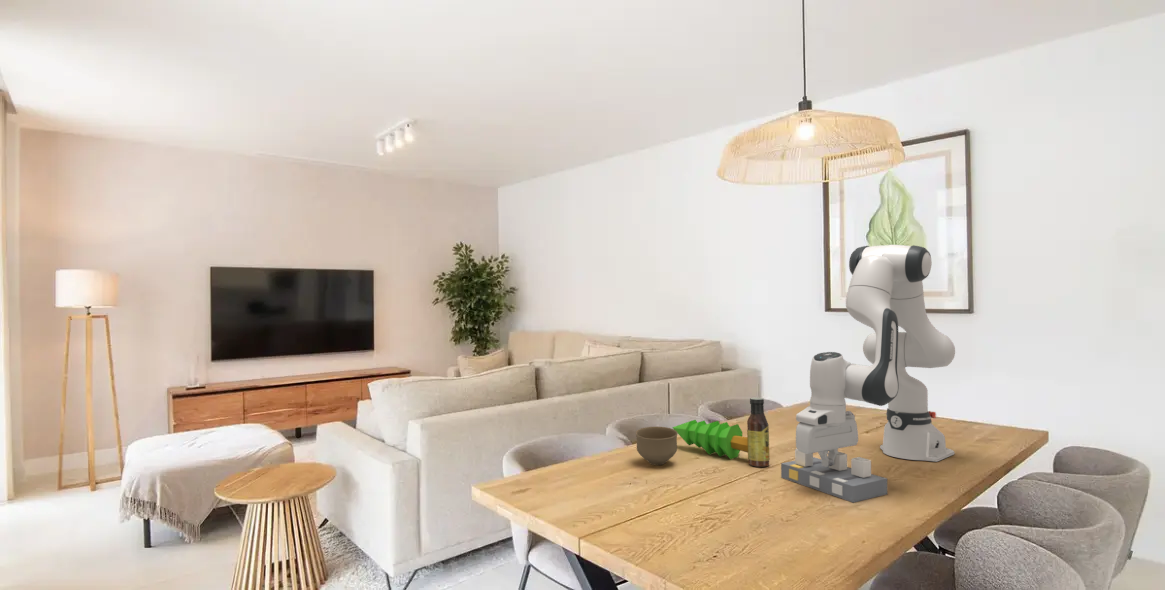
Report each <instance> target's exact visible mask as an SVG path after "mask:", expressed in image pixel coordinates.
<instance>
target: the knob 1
mask: <svg viewBox="0 0 1165 590" xmlns="http://www.w3.org/2000/svg"><path fill="white" fill-rule="evenodd" d="M813 457H814V453H811V454H806V453H802V452H799V451H798V449H797V448H795V449H794V461H795V464H798V465H801V466H805V467H807V466H812V465H813Z"/></svg>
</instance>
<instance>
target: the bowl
mask: <svg viewBox="0 0 1165 590" xmlns="http://www.w3.org/2000/svg"><path fill="white" fill-rule="evenodd" d="M678 435H679V434H678V433H677V431H676V430H674V429H673V428H670V427H667V426H666V427H665V426H646V427H642V428H639V429H637V430H636V431H635V437H636V450H637V452H638V455H640V456H641V458H642V459H644V460H646V461H647V462H648V463H649V464H650V465H652V466H662V465H665V464H666V463H667V462H668V461H669V460H671V459H672V458H673V457H674V456H675V454H676V453H677V451H678Z"/></svg>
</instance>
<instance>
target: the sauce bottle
mask: <svg viewBox="0 0 1165 590" xmlns="http://www.w3.org/2000/svg"><path fill="white" fill-rule="evenodd" d="M749 404H750V415H749V417H748V419H747V423H746V424H747V429H746V431H747V432H746V435H747V436H746V437H747V440H748V453H747V459H748V464H749V465H750V466H752V467H756V468H758V467H759V468H765V467H767V466H770V432H769V431H770V430H769V429H770V428H769V423H768V420H767V417H766V414H765V410H764V408H765V407H764V406H765V405H764V404H765V399H764V398H763V397H751V398H749Z"/></svg>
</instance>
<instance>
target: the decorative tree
mask: <svg viewBox="0 0 1165 590" xmlns="http://www.w3.org/2000/svg"><path fill="white" fill-rule="evenodd" d="M671 429H674V430H676V431H677V433H678V434H677V435H679V436H680V438H682V440H683V441H684V442H685V443H686V444H687V445H688V446H691V445H695V446H696V447H697V448H699V449H700V448H702V449H703V450H704V451H705V452H706V453H707V454H708V456H710V455H712V454H717V455H718V456H719V457H722V456H726V457H728V459H730V460H733V459H736V458H738V457H739V455H740V452H745V453H747V454H748V440H747V436H743V431H742V429H741V427H740V426H739V424H738V423H737V424H734V425H731V426H730V424H729V423H728V422H727V421H726V422H723V423H720V422H719V420H716V421H712V422H710V423H709V422H708V423H707V422H706V421H705V420H702V421H697V420H696V419H693V420H689V421H686V422H684V423H681V424H678V425H675V426H672V428H671Z"/></svg>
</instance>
